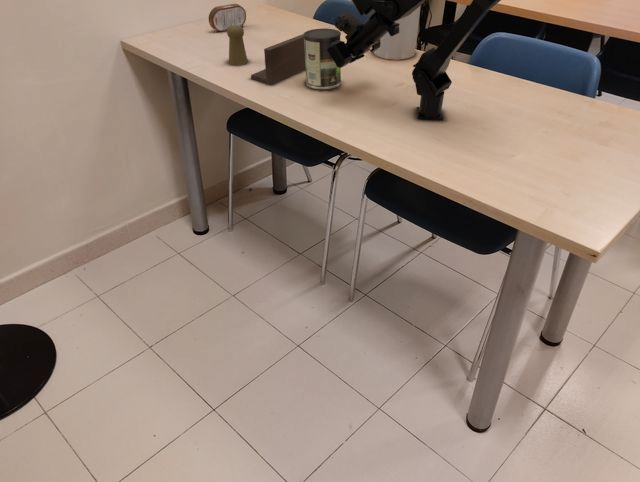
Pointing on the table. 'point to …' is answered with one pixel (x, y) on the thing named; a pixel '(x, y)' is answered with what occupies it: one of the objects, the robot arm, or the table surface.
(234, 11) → the tin
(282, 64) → the walnut bookend
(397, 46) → the utensil holder
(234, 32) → the olive green pawn
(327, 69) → the coffee can
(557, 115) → the table surface
